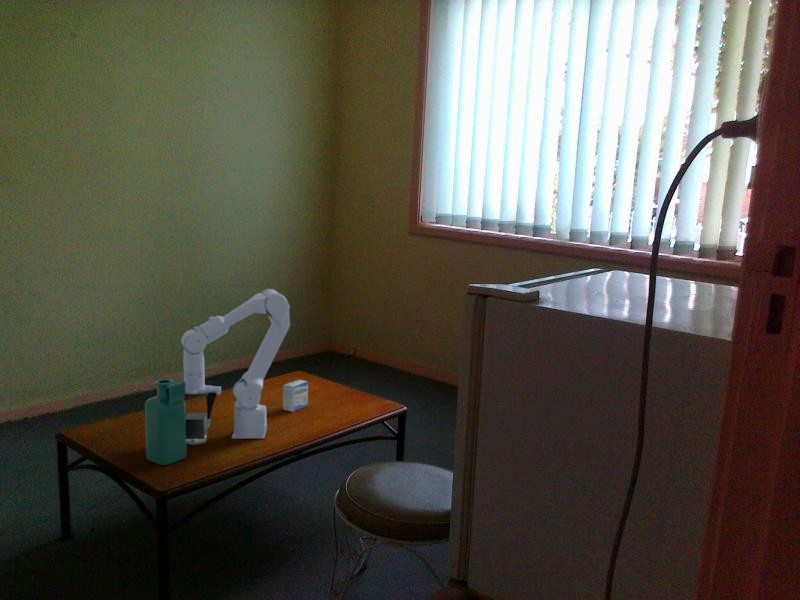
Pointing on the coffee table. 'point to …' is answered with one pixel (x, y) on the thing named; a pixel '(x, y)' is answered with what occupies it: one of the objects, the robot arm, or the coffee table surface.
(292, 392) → the medicine box
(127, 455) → the coffee table surface
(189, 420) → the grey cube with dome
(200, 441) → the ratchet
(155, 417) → the teal green bottle
